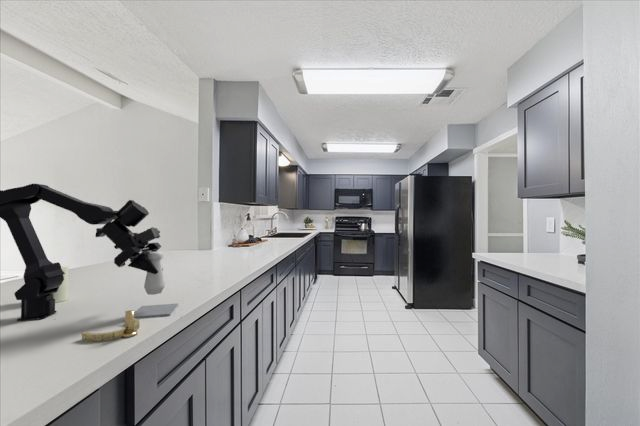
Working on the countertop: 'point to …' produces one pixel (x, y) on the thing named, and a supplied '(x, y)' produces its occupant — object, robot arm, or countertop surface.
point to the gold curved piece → (127, 332)
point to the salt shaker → (155, 275)
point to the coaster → (155, 310)
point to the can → (62, 288)
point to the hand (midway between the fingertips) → (159, 272)
